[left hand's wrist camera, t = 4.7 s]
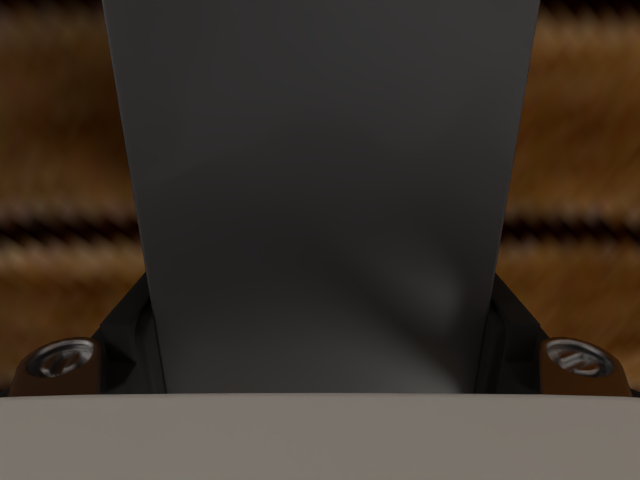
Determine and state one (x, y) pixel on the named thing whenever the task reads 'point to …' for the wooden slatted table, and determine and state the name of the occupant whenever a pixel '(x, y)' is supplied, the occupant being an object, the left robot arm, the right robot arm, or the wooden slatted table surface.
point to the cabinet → (320, 185)
